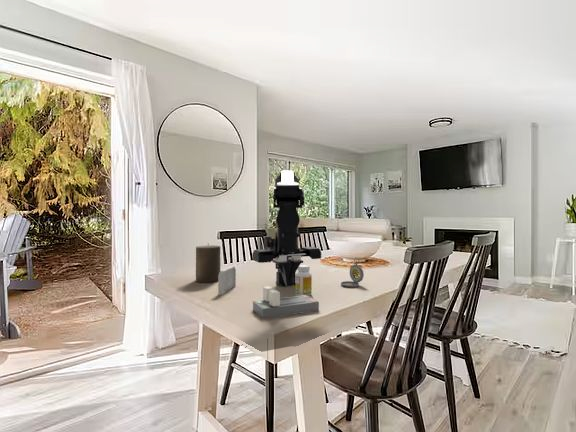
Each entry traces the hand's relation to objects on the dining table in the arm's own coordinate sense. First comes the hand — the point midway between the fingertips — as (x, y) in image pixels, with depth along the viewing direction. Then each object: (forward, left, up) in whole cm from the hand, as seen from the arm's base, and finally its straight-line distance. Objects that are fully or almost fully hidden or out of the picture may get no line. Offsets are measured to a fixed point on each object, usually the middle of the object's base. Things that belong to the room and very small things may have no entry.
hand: (287, 285), depth 90 cm
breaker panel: (-1, -3, -8) cm, 8 cm away
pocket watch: (-36, -20, -8) cm, 42 cm away
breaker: (+4, -5, -5) cm, 8 cm away
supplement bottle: (-13, -16, -8) cm, 22 cm away
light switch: (+9, -32, -8) cm, 34 cm away
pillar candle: (+12, -51, -8) cm, 53 cm away
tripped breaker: (+4, 0, -5) cm, 6 cm away
